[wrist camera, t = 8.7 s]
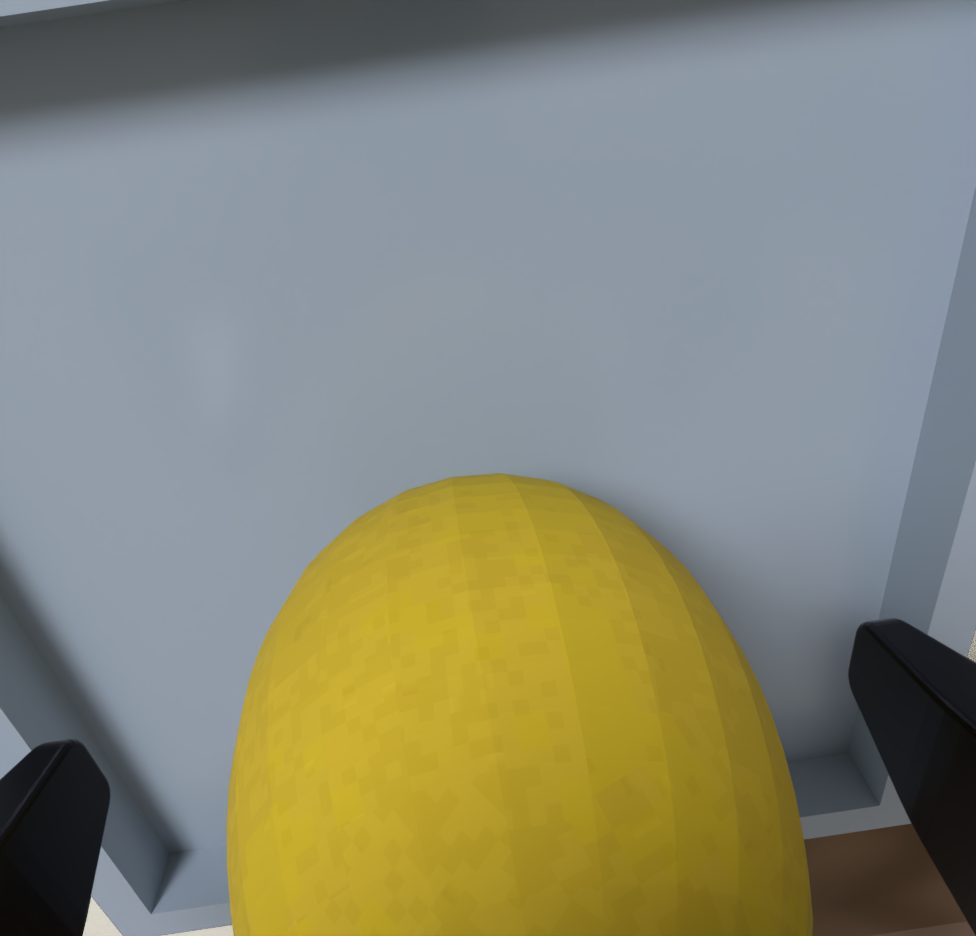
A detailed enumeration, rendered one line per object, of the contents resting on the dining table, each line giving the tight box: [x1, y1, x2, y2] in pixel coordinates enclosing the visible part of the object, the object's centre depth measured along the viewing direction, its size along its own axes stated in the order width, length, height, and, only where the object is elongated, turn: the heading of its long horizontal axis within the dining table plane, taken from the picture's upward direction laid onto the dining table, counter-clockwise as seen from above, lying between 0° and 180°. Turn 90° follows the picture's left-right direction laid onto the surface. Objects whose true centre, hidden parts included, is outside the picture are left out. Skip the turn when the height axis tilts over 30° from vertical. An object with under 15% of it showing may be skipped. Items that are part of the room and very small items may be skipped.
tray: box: [0, 0, 976, 936], centre depth 11 cm, size 16×16×2 cm
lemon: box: [227, 473, 813, 936], centre depth 8 cm, size 6×6×8 cm
